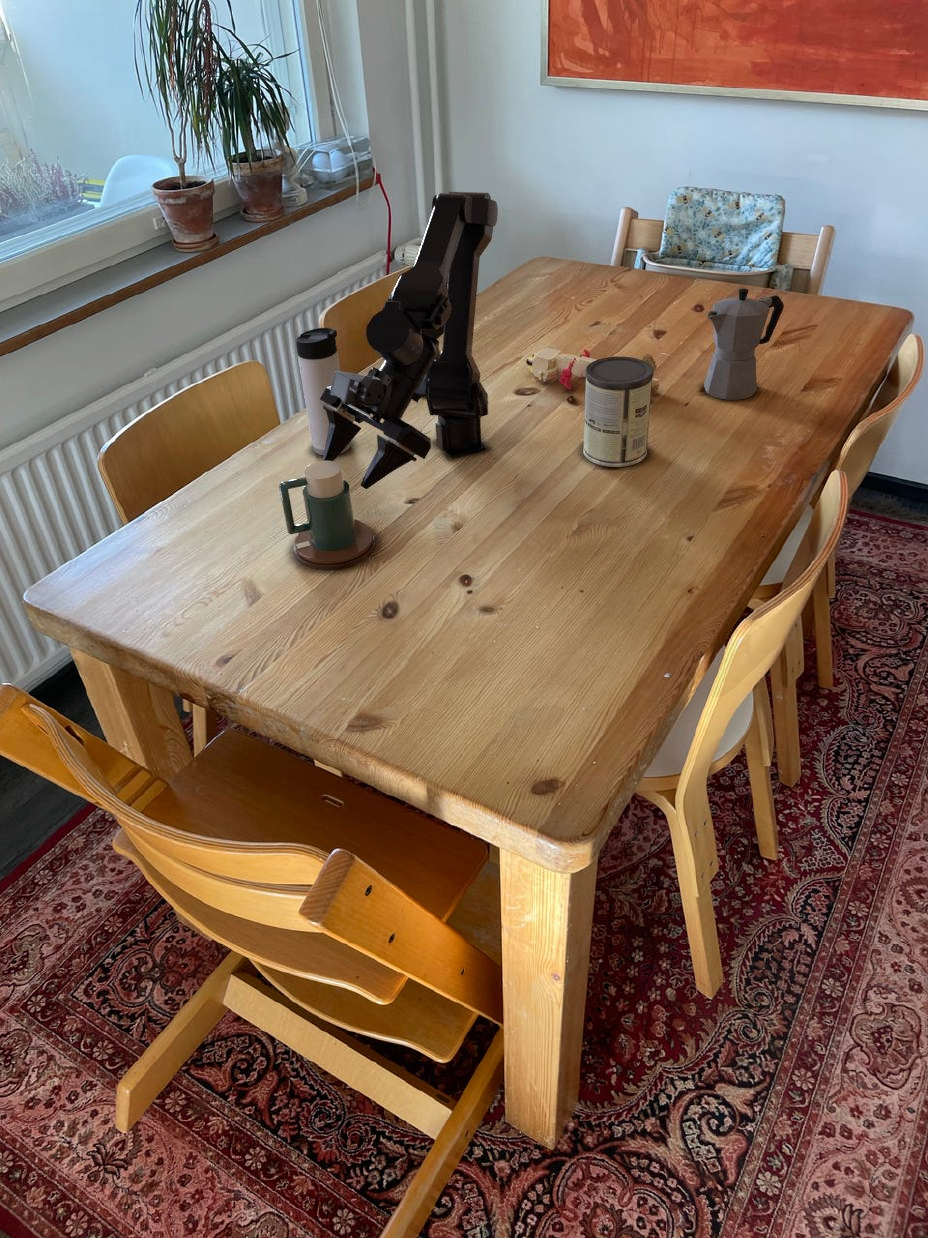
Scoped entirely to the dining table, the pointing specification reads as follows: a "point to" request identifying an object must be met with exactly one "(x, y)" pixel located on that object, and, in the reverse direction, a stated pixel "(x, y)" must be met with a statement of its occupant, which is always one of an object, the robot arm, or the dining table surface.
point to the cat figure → (569, 366)
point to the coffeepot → (738, 343)
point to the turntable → (336, 565)
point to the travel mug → (317, 379)
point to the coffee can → (617, 410)
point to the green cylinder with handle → (326, 516)
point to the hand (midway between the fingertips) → (343, 475)
